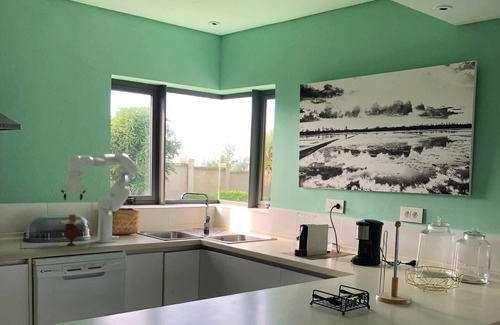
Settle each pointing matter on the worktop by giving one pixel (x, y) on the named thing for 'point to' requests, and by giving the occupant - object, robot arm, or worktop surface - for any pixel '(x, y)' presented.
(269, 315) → the worktop surface
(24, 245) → the pale grey flat board
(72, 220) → the walnut lid
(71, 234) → the ice cream bowl
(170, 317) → the worktop surface
